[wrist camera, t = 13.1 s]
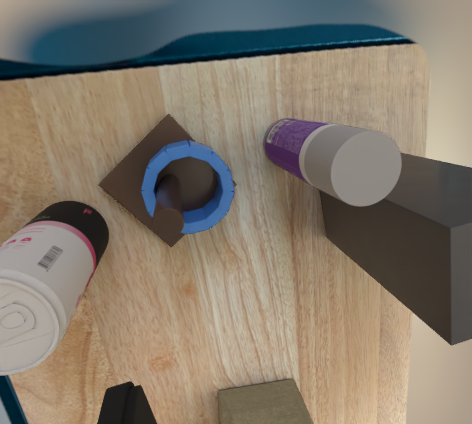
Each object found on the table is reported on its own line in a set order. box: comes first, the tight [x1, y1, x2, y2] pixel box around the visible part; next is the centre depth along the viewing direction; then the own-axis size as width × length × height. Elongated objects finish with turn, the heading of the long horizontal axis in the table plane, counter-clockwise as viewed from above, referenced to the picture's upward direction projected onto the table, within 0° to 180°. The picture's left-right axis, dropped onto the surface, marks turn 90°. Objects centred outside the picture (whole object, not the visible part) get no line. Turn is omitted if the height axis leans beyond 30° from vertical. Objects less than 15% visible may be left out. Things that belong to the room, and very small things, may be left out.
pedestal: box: [320, 153, 472, 345], centre depth 28 cm, size 8×8×18 cm
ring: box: [141, 140, 234, 234], centre depth 30 cm, size 8×8×4 cm
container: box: [263, 119, 402, 207], centre depth 27 cm, size 5×5×15 cm
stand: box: [99, 114, 237, 247], centre depth 27 cm, size 9×9×12 cm
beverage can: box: [0, 201, 109, 375], centre depth 26 cm, size 6×6×15 cm
